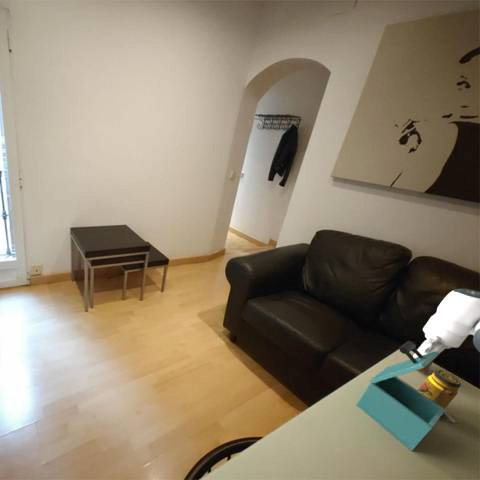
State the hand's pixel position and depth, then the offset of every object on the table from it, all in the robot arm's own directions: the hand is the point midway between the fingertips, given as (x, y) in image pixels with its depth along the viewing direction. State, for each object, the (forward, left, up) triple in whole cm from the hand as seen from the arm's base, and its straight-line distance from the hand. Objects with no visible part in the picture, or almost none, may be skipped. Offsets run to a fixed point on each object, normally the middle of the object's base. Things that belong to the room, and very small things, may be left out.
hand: (420, 364), depth 90 cm
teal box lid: (0, +33, +13) cm, 36 cm away
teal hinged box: (-3, +33, -2) cm, 33 cm away
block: (0, 0, -2) cm, 2 cm away
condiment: (-7, +17, -2) cm, 19 cm away
